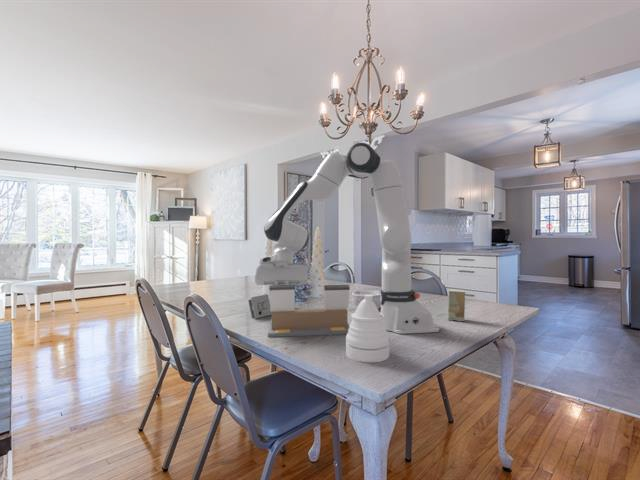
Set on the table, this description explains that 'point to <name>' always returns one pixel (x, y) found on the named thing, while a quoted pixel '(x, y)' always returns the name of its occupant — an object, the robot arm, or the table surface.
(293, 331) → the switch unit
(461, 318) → the skincare box
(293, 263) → the robot arm
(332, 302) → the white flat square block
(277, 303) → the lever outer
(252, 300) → the electrical switch
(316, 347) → the table surface
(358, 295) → the clear glass bowl
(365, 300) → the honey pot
